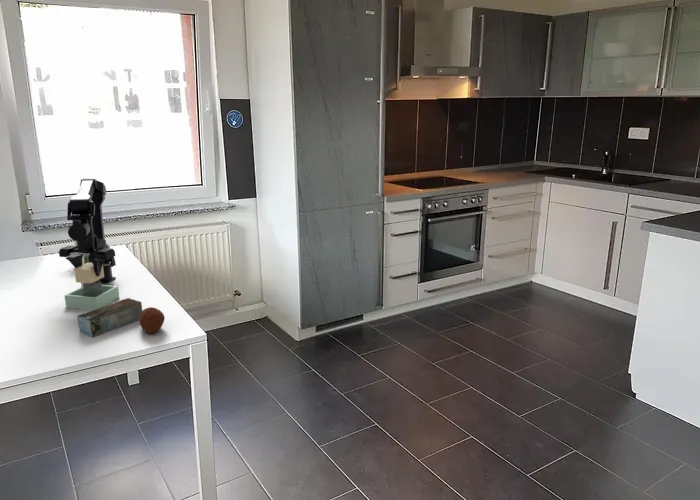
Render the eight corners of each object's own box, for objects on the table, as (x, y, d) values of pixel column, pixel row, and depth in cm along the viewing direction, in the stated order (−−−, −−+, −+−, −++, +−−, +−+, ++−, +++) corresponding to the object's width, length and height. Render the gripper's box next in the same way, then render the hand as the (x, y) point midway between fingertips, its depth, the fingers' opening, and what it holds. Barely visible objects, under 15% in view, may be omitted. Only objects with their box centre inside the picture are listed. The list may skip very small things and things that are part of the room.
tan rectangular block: (89, 275, 196) (87, 262, 195) (104, 276, 195) (102, 263, 194) (76, 282, 189) (74, 268, 188) (91, 283, 188) (89, 269, 187)
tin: (82, 299, 195) (80, 281, 193) (100, 296, 198) (98, 278, 197) (85, 304, 190) (82, 285, 189) (103, 301, 194) (101, 282, 192)
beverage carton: (77, 332, 170) (74, 313, 169) (130, 313, 186) (128, 295, 184) (92, 338, 166) (89, 319, 164) (144, 318, 182) (143, 300, 180)
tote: (89, 294, 202) (87, 283, 200) (119, 297, 199) (118, 286, 198) (66, 307, 190) (64, 295, 189) (97, 310, 188) (96, 298, 186)
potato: (158, 321, 179) (156, 299, 177) (171, 333, 170) (168, 310, 168) (135, 327, 174) (133, 304, 172) (146, 339, 166) (144, 315, 163)
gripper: (122, 229, 193) (126, 270, 198) (76, 226, 197) (81, 267, 201) (102, 237, 183) (107, 280, 187) (54, 234, 186) (61, 276, 191)
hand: (90, 275), depth 192 cm, fingers open, 6 cm apart
